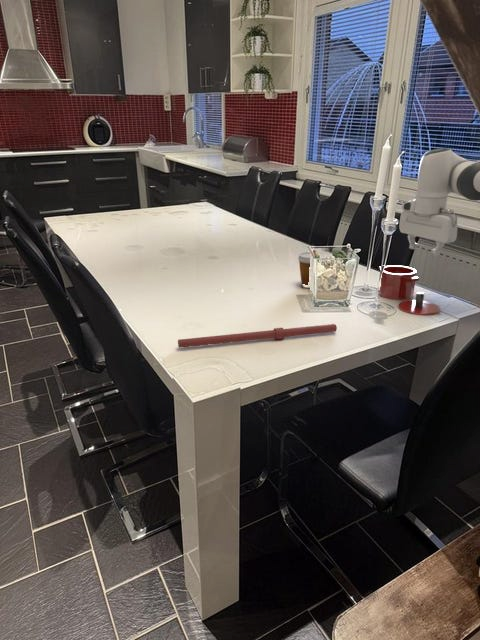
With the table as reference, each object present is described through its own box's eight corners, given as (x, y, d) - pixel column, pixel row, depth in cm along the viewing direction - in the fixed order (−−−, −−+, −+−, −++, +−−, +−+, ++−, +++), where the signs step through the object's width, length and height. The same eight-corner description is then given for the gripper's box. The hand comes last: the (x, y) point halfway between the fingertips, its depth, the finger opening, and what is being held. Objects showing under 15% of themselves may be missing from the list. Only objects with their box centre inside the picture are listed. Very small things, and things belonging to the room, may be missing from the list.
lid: (418, 301, 158) (421, 285, 156) (448, 313, 147) (450, 295, 145) (389, 307, 153) (391, 290, 151) (417, 319, 142) (419, 302, 140)
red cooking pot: (392, 287, 172) (394, 262, 169) (426, 300, 158) (430, 273, 154) (366, 291, 168) (368, 266, 165) (399, 306, 154) (402, 278, 150)
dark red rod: (333, 330, 136) (333, 320, 134) (337, 334, 133) (338, 324, 132) (178, 346, 127) (177, 336, 126) (179, 351, 124) (178, 340, 123)
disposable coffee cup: (298, 290, 172) (299, 258, 167) (296, 282, 181) (296, 252, 176) (324, 289, 172) (326, 257, 167) (320, 282, 180) (322, 251, 176)
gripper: (466, 210, 131) (458, 258, 136) (413, 202, 149) (408, 244, 154) (449, 211, 129) (442, 260, 134) (398, 203, 146) (393, 246, 151)
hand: (423, 252), depth 144 cm, fingers open, 8 cm apart
